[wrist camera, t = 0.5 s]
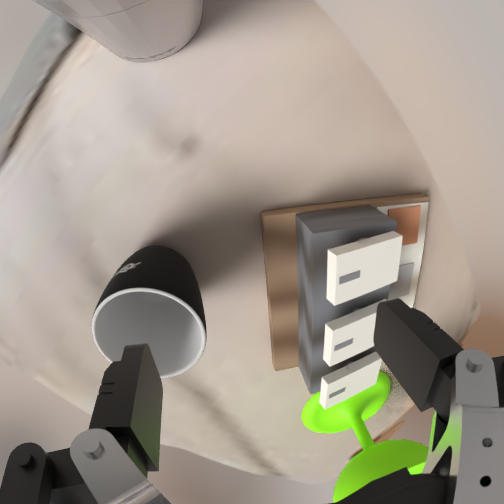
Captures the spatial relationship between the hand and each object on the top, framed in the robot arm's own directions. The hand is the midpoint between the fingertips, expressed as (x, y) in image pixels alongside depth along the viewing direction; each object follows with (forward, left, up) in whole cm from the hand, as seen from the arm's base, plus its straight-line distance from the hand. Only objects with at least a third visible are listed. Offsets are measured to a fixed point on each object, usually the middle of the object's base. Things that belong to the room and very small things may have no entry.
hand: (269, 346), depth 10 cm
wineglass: (+36, +15, -21) cm, 45 cm away
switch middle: (+12, +10, -12) cm, 20 cm away
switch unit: (+12, +13, -21) cm, 27 cm away
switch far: (+19, +10, -12) cm, 25 cm away
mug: (+8, -9, -21) cm, 24 cm away
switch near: (+5, +10, -12) cm, 17 cm away
